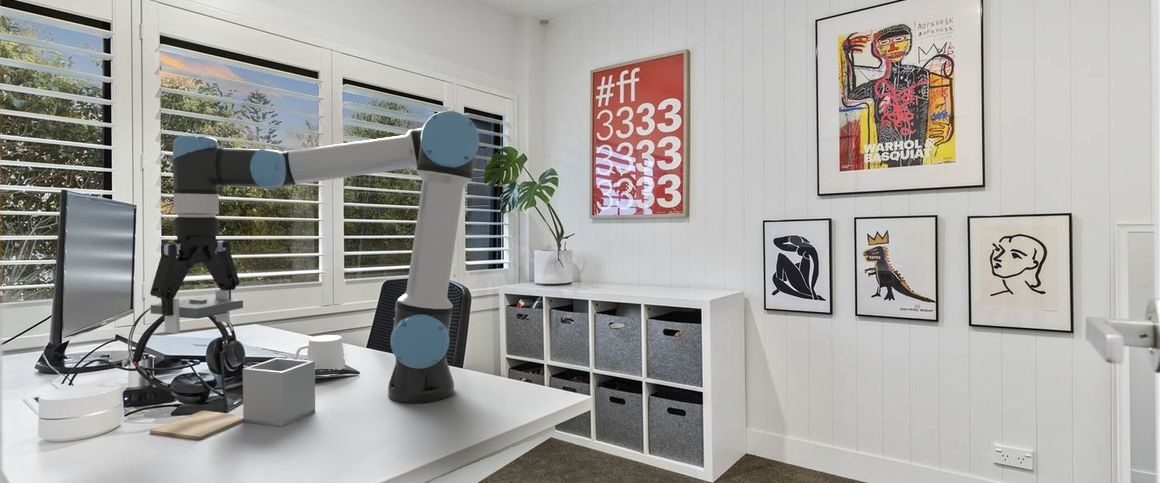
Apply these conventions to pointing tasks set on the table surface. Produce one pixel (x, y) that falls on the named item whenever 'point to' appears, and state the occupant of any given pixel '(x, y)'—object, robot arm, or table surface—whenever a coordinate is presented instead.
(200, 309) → the lid
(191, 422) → the wooden square board
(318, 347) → the mug
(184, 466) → the table surface
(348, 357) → the table surface
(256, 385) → the storage cube
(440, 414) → the table surface
